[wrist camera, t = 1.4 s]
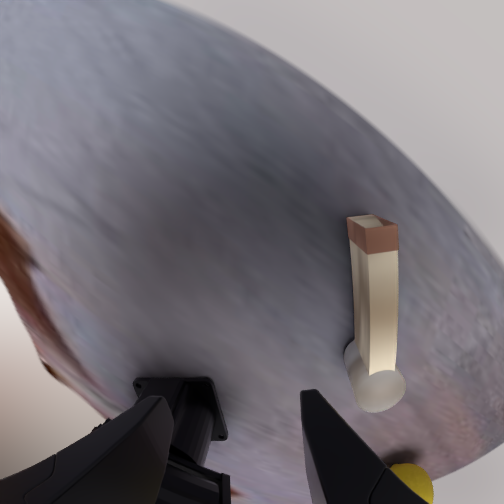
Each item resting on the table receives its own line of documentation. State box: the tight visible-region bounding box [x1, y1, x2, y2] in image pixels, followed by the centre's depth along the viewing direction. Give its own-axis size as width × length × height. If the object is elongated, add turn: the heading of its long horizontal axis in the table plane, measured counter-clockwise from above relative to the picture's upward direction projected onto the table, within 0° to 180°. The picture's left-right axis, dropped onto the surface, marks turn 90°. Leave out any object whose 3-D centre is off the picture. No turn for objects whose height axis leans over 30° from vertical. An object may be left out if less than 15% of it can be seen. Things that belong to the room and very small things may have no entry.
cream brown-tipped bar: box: [344, 214, 406, 413], centre depth 16 cm, size 11×3×4 cm, turn 9°
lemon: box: [390, 463, 434, 504], centre depth 19 cm, size 6×6×8 cm
